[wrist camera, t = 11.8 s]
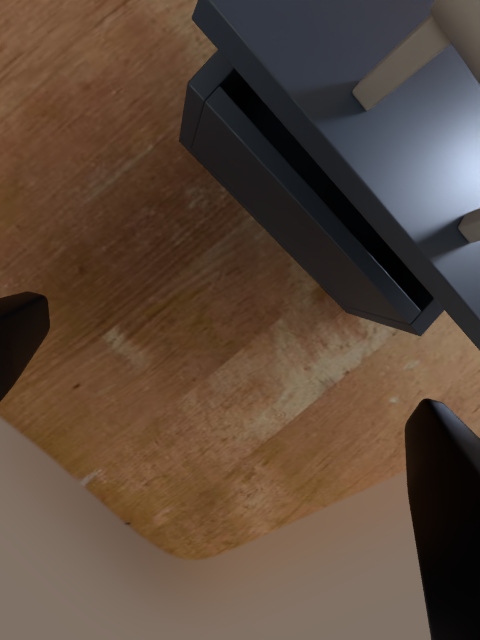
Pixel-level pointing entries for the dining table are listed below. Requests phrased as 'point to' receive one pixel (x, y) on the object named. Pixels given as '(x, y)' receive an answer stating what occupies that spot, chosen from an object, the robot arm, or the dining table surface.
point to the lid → (379, 117)
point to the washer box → (298, 201)
